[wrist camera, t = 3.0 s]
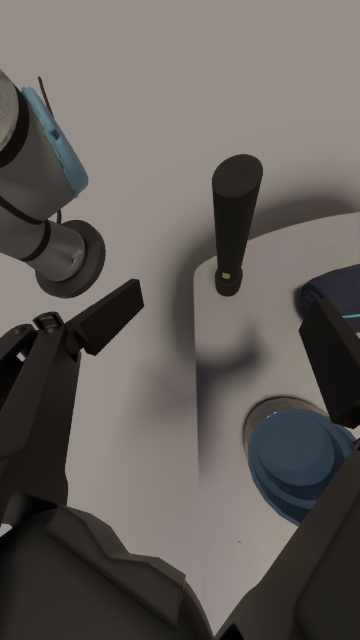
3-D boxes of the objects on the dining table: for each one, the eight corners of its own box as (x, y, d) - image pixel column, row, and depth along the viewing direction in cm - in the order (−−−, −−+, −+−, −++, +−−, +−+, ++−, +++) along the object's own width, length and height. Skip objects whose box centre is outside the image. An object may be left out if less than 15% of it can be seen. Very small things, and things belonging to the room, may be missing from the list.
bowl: (232, 405, 32) (234, 418, 26) (318, 388, 29) (342, 399, 23) (260, 497, 28) (269, 535, 23) (361, 489, 25) (401, 531, 20)
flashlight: (220, 272, 36) (212, 293, 36) (214, 144, 13) (194, 200, 13) (243, 277, 35) (235, 299, 34) (283, 143, 12) (261, 207, 11)
